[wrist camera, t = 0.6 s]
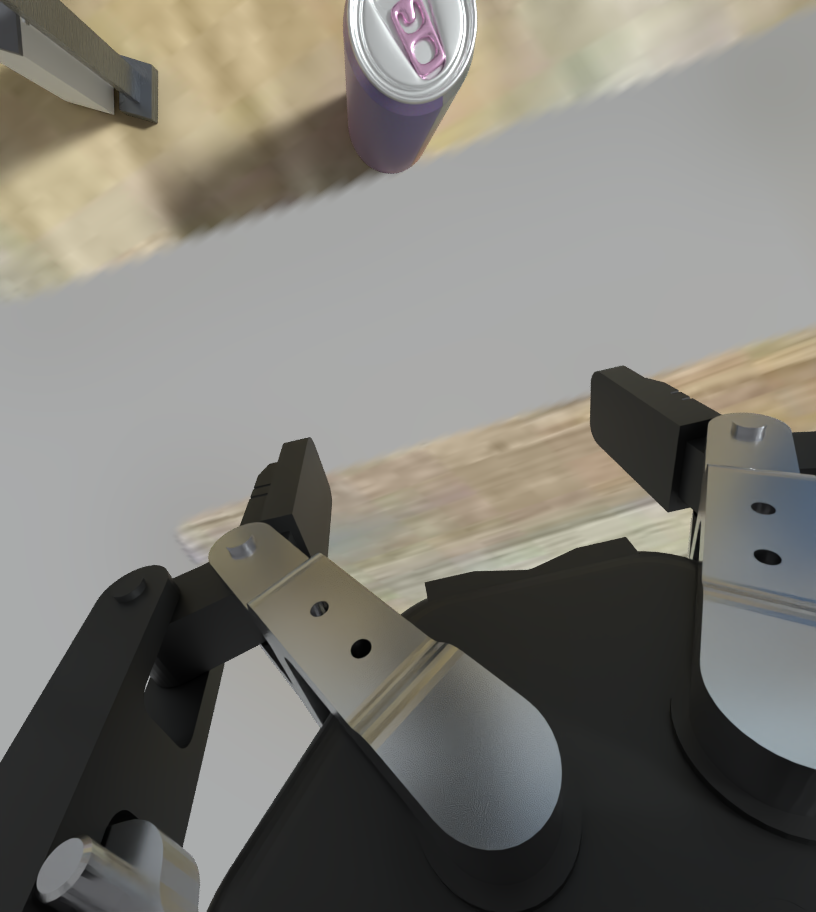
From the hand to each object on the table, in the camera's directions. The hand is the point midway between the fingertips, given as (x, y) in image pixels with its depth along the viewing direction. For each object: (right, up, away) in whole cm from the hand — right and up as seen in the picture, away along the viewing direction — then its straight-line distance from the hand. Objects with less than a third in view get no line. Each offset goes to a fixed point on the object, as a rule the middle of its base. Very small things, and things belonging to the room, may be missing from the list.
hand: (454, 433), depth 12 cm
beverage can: (-3, +24, +20) cm, 31 cm away
